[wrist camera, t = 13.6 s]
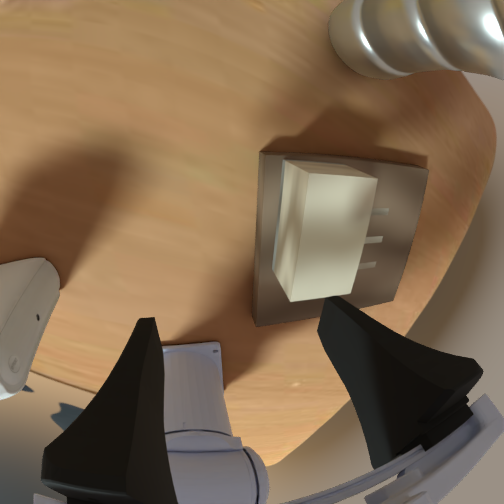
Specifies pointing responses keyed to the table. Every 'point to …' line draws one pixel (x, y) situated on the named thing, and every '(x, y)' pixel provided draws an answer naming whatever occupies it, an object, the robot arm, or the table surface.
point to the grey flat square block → (375, 246)
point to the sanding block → (321, 227)
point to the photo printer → (23, 317)
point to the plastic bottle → (419, 36)
